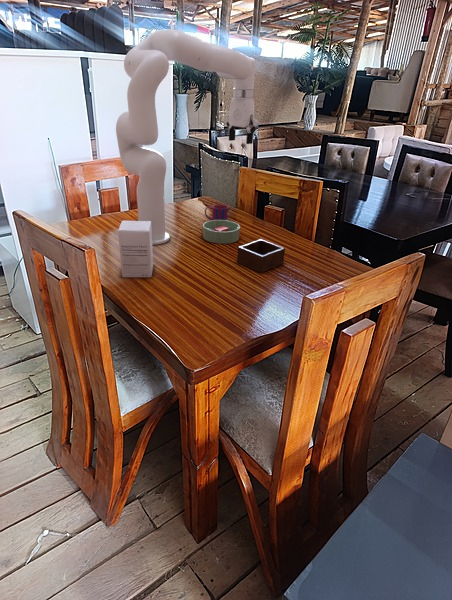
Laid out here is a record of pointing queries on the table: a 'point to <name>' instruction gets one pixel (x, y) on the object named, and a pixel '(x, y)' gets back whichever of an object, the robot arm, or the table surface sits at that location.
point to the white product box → (136, 248)
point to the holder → (260, 255)
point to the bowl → (221, 236)
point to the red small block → (221, 229)
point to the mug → (219, 212)
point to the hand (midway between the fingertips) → (240, 142)
